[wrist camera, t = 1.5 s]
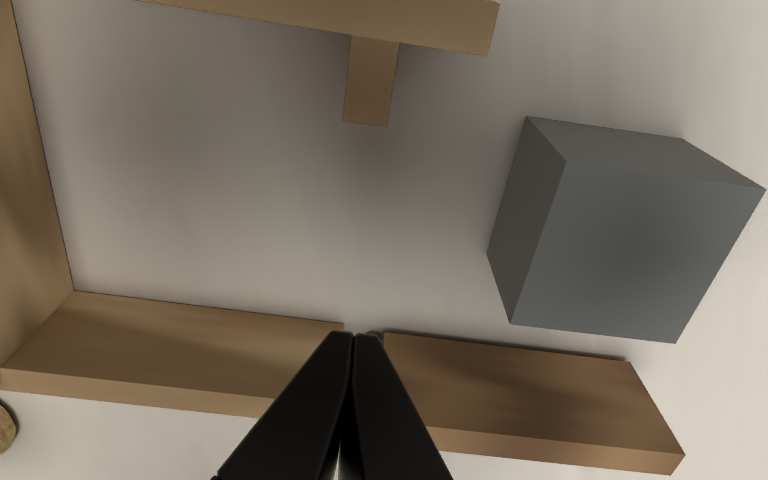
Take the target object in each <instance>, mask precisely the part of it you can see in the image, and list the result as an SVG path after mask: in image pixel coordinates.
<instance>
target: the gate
mask: <svg viewBox="0 0 768 480" xmlns="http://www.w3.org/2000/svg"><path fill="white" fill-rule="evenodd" d="M382 344H383V346H384V348H385V350H386V352H387V354H388V356H389V358H390V359H391V361H392V363H393V365H394V367H395V369H396V371H397V373H398V375H399V377H400V379H401V380H402V382H403V384H404V386H405V388H406V390H407V392H408V394H409V396H410V398H411V400H412V401H413V403H414V405H415V407H416V409H417V411H418V413H419V415H420V417H421V419H422V421H423V423H424V424H425V426H426V428H427V430H428V432H429V434H430V436H431V438H432V440H433V442H434V444H435V445H436V447H437V449H438V451H447V452H457V453H466V454H475V455H485V456H494V457H503V458H512V459H522V460H531V461H540V462H550V463H559V464H568V465H577V466H587V467H596V468H605V469H615V470H624V471H633V472H642V473H652V474H661V475H670V476H671V474H672V473H673V472H674V470H675V469H676V468H677V466H678V465H679V463H680V462H681V461H682V459H683V458H684V457H685V453H684V451H683V450H682V448H681V446H680V445H679V443H678V441H677V440H676V438H675V436H674V435H673V433H672V431H671V430H670V428H669V426H668V425H667V423H666V421H665V420H664V418H663V416H662V415H661V413H660V411H659V410H658V408H657V406H656V405H655V403H654V401H653V400H652V398H651V396H650V395H649V393H648V391H647V390H646V388H645V386H644V385H643V383H642V381H641V380H640V378H639V376H638V375H637V373H636V371H635V370H634V368H633V366H632V365H631V363H630V362H625V361H617V360H608V359H600V358H592V357H584V356H576V355H568V354H559V353H551V352H543V351H535V350H527V349H518V348H510V347H502V346H494V345H486V344H478V343H469V342H461V341H453V340H445V339H437V338H429V337H420V336H412V335H404V334H396V333H388V332H384V336H383V342H382Z"/></svg>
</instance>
